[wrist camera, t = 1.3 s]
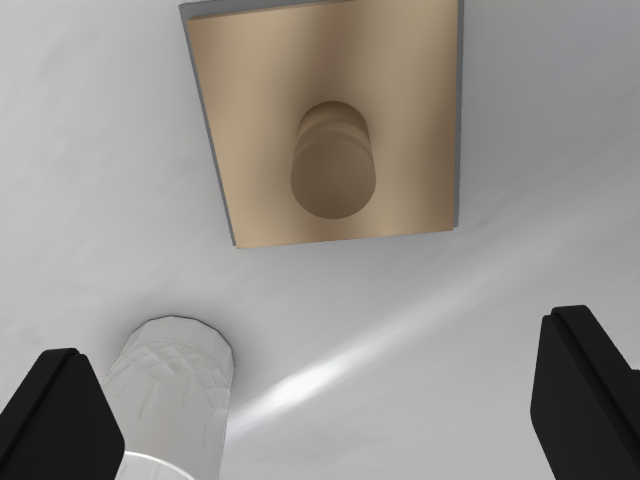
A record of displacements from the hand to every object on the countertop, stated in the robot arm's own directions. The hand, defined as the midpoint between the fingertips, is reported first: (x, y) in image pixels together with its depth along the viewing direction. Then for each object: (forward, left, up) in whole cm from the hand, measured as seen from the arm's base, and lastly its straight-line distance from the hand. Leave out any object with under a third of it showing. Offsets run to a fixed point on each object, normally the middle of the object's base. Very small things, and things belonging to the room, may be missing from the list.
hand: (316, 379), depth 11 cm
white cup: (+11, +14, -17) cm, 24 cm away
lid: (0, 0, -16) cm, 16 cm away
